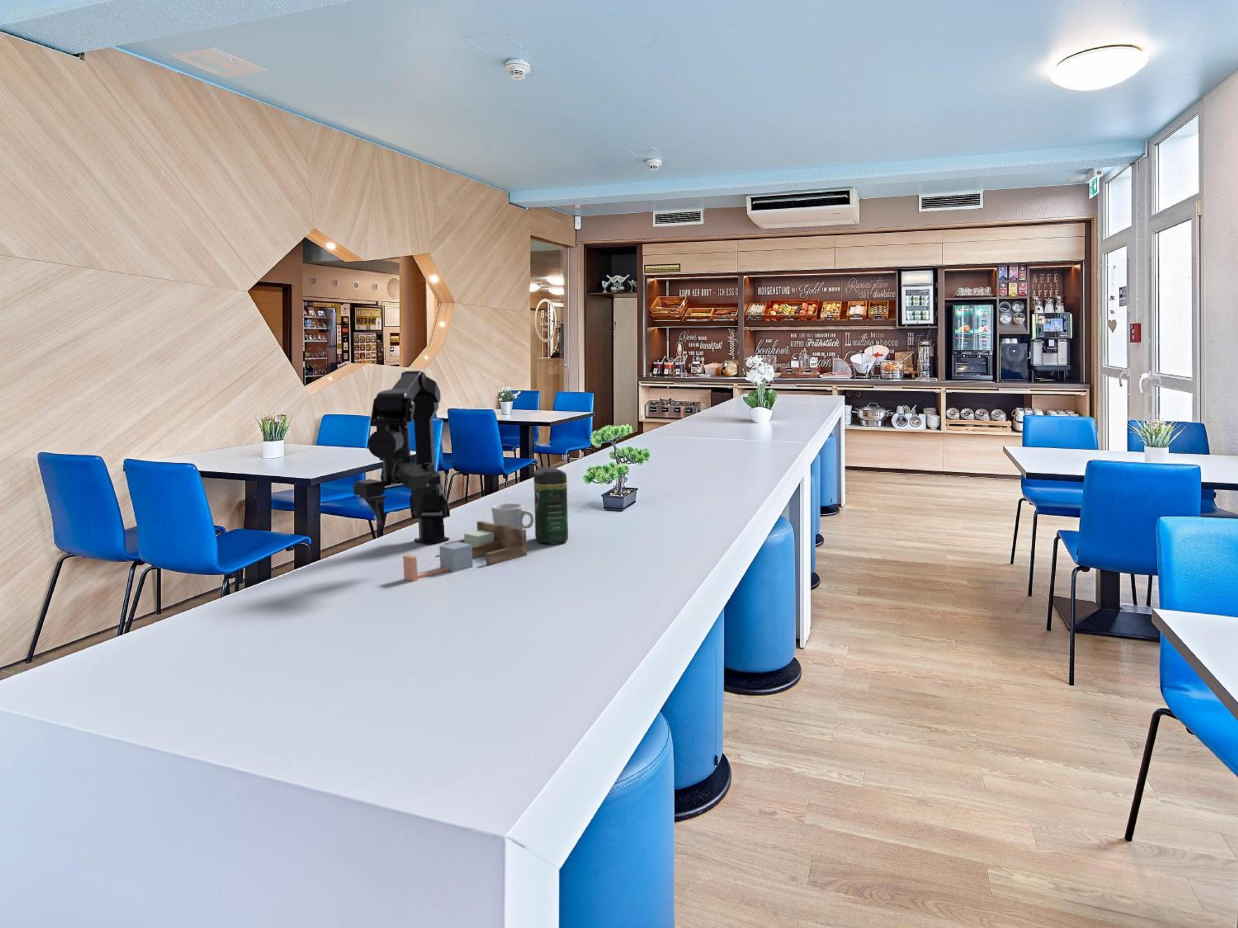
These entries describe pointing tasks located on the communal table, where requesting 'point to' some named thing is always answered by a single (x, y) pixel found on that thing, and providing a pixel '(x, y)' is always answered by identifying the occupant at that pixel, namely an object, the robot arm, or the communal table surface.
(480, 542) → the green block
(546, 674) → the communal table surface
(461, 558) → the wooden bar with block
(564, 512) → the coffee jar
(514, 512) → the cup
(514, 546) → the lane rack
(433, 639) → the communal table surface
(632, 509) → the communal table surface
